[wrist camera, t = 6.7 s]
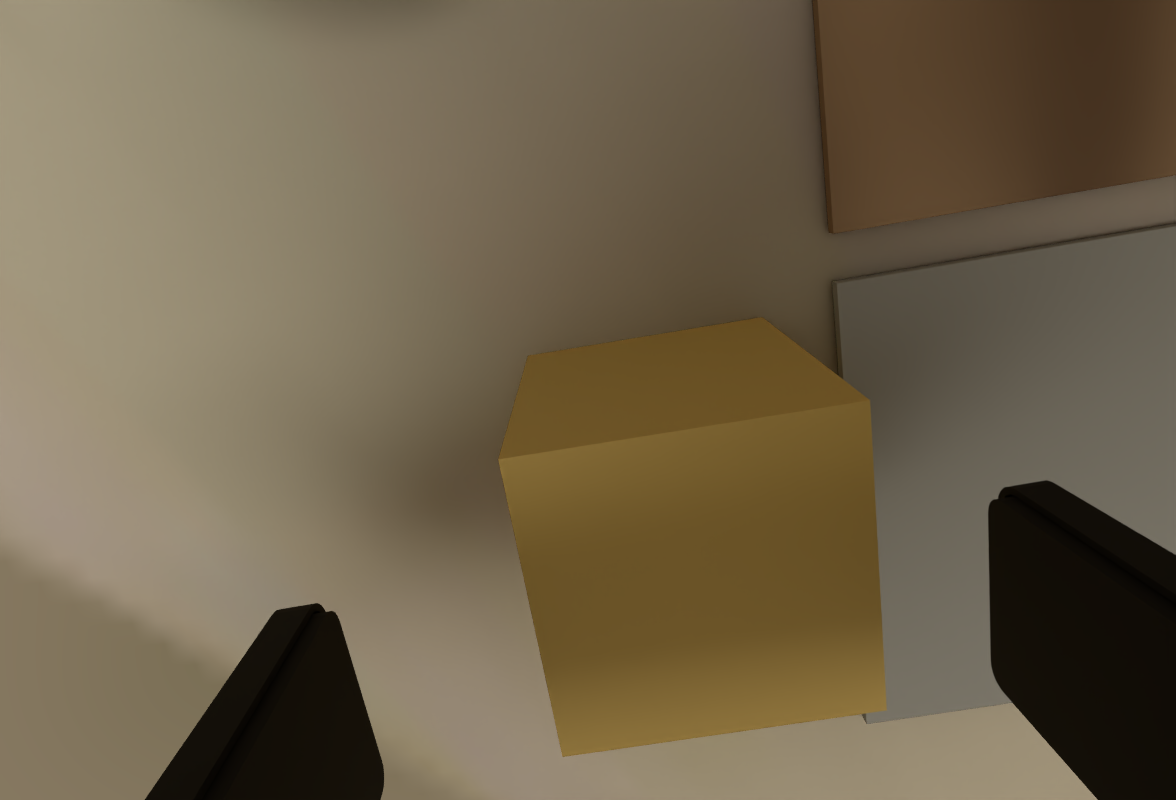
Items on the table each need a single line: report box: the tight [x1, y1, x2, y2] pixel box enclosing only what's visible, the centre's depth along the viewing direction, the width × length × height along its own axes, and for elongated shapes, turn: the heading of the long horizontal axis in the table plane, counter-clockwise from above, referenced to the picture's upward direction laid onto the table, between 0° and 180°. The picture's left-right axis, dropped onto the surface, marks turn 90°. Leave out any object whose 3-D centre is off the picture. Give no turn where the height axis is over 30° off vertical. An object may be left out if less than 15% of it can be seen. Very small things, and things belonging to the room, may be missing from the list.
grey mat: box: [832, 223, 1176, 724], centre depth 16 cm, size 12×11×1 cm
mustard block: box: [498, 317, 887, 757], centre depth 13 cm, size 5×5×6 cm
